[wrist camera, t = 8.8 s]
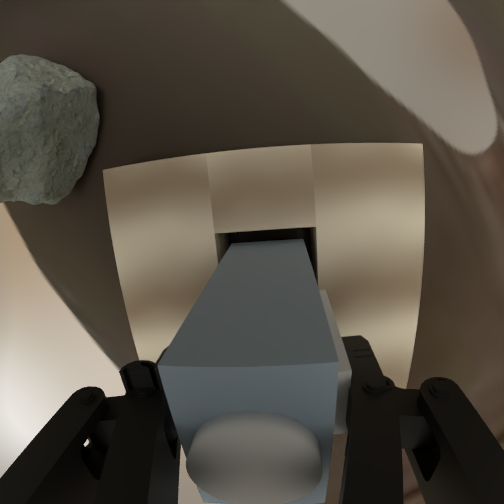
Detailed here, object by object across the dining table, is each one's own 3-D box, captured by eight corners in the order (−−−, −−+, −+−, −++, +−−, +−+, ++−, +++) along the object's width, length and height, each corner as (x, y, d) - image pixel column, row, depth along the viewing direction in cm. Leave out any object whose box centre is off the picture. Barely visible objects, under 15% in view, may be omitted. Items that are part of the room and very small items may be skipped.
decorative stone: (150, 151, 20) (74, 37, 11) (39, 260, 19) (-69, 191, 10) (90, 94, 26) (39, 20, 16) (10, 172, 24) (-54, 113, 15)
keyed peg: (242, 337, 20) (199, 519, 8) (231, 243, 18) (145, 385, 6) (306, 334, 19) (325, 521, 7) (303, 238, 18) (344, 384, 6)
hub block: (131, 168, 21) (102, 169, 17) (397, 146, 19) (422, 143, 15) (167, 370, 25) (151, 399, 21) (390, 359, 23) (405, 390, 19)
